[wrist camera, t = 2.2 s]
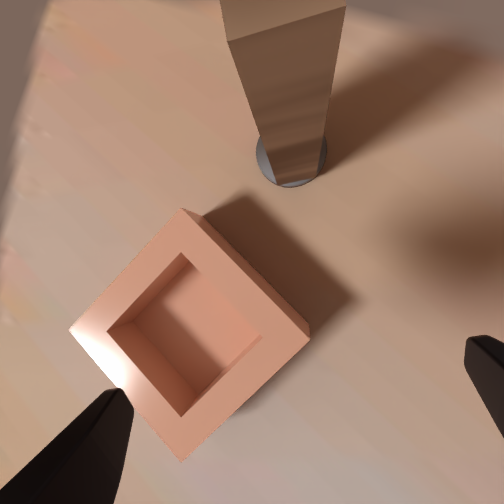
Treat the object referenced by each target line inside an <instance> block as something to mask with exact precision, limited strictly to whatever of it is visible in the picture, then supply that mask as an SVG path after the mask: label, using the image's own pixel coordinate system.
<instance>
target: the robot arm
mask: <svg viewBox="0 0 504 504" xmlns="http://www.w3.org/2000/svg"><path fill="white" fill-rule="evenodd" d="M464 365H465V369H466V371H467V373H468V375H469V377H470V378H471V380H472V382H473V384H474V386H475V388H476V389H477V391H478V393H479V395H480V397H481V398H482V400H483V402H484V404H485V406H486V408H487V409H488V411H489V413H490V415H491V417H492V418H493V420H494V422H495V424H496V426H497V427H498V429H499V431H500V433H501V434H502V436H503V438H504V343H503V342H501V341H499V340H497V339H495V338H493V337H491V336H488V335H479V336H472V337H469V338H468V339H467V340H466V347H465V356H464ZM133 417H134V408H133V405H132V404H131V402H130V400H129V399H128V397H127V395H126V394H125V392H124V391H123V389H121V388H114V389H108V390H105V391H104V392H103V393H102V394H101V395H100V396H99V397H98V398H96V399H95V400H94V401H93V402H92V403H91V404H90V405H89V406H88V407H87V408H86V409H85V410H84V411H83V412H82V413H81V414H80V415H79V416H78V417H76V418H75V419H74V420H73V421H72V422H71V423H70V424H69V425H68V426H67V427H66V428H65V429H64V430H63V431H62V432H61V433H60V434H59V435H57V436H56V437H55V438H54V439H53V440H52V441H51V442H50V443H49V444H48V445H47V446H46V447H45V448H44V449H43V450H42V451H41V452H40V453H39V454H37V455H36V456H35V457H34V458H33V459H32V460H31V461H30V462H29V463H28V464H27V465H26V466H25V467H24V468H23V469H22V470H21V471H20V472H18V473H17V474H16V475H15V476H14V477H13V478H12V479H11V480H10V481H9V482H8V483H7V484H6V485H5V486H4V487H3V488H2V489H1V490H0V504H114V500H115V497H116V494H117V490H118V487H119V483H120V479H121V475H122V471H123V467H124V462H125V457H126V452H127V447H128V442H129V437H130V432H131V427H132V422H133Z"/></svg>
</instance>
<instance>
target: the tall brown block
mask: <svg viewBox="0 0 504 504" xmlns="http://www.w3.org/2000/svg"><path fill="white" fill-rule="evenodd" d="M220 4H221V10H222V15H223V21H224V26H225V32H226V37H227V42H228V45H229V48H230V51H231V54H232V57H233V59H234V62H235V65H236V68H237V71H238V74H239V77H240V80H241V82H242V85H243V88H244V91H245V94H246V97H247V100H248V102H249V105H250V108H251V111H252V114H253V117H254V120H255V122H256V125H257V128H258V131H259V134H260V137H259V140H258V143H257V147H256V158H257V162H258V165H259V167H260V169H261V171H262V173H263V174H264V176H265V177H266V178H267V179H268V180H269V181H271V182H272V183H274V184H276V185H278V186H282V187H288V188H292V187H298V186H302V185H304V184H306V183H308V182H310V181H311V180H312V179H314V178H315V177H316V176H317V175H318V173H319V172H320V170H321V169H322V167H323V164H324V161H325V158H326V152H327V145H326V140H325V137H324V128H325V123H326V117H327V111H328V106H329V100H330V94H331V89H332V83H333V77H334V72H335V66H336V61H337V55H338V49H339V44H340V38H341V32H342V27H343V21H344V15H345V10H346V2H345V0H220Z"/></svg>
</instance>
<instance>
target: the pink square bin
mask: <svg viewBox="0 0 504 504" xmlns="http://www.w3.org/2000/svg"><path fill="white" fill-rule="evenodd" d="M69 331H70V332H71V334H72V335H73V336H74V337H75V338H76V339H77V341H78V342H79V343H80V344H81V345H82V347H83V348H84V349H85V350H86V351H87V352H88V354H89V355H90V356H91V357H92V358H93V359H94V361H95V362H96V363H97V364H98V365H99V367H100V368H101V369H102V370H103V371H104V372H105V374H106V375H107V376H108V377H109V378H110V379H111V381H112V382H113V383H114V384H115V385H116V387H117V388H121V389H123V391H124V392H125V394H126V395H127V397H128V399H129V400H130V402H131V404H132V405H133V407H134V408H135V409H136V410H137V411H138V412H139V414H140V415H141V416H142V417H143V418H144V419H145V421H146V422H147V423H148V424H149V425H150V427H151V428H152V429H153V430H154V431H155V432H156V434H157V435H158V436H159V437H160V438H161V439H162V441H163V442H164V443H165V444H166V445H167V447H168V448H169V449H170V450H171V451H172V452H173V454H174V455H175V456H176V457H177V458H178V459H179V461H180V462H182V461H183V460H184V459H185V458H186V457H188V456H189V455H190V454H191V453H192V452H193V451H194V450H195V449H196V448H197V447H198V446H199V445H200V444H201V443H202V442H203V441H204V440H205V439H206V438H208V437H209V436H210V435H211V434H212V433H213V432H214V431H215V430H216V429H217V428H218V427H219V426H220V425H221V424H222V423H223V422H224V421H225V420H226V419H228V418H229V417H230V416H231V415H232V414H233V413H234V412H235V411H236V410H237V409H238V408H239V407H240V406H241V405H242V404H243V403H244V402H245V401H246V400H248V399H249V398H250V397H251V396H252V395H253V394H254V393H255V392H256V391H257V390H258V389H259V388H260V387H261V386H262V385H263V384H264V383H265V382H266V381H267V380H269V379H270V378H271V377H272V376H273V375H274V374H275V373H276V372H277V371H278V370H279V369H280V368H281V367H282V366H283V365H284V364H285V363H286V362H287V361H289V360H290V359H291V358H292V357H293V356H294V355H295V354H296V353H297V352H298V351H299V350H300V349H301V348H302V347H303V346H304V345H305V344H306V343H307V342H309V341H310V331H309V324H308V323H307V322H306V321H305V320H304V319H303V318H302V317H301V316H300V315H299V314H298V313H297V312H296V311H295V310H294V309H293V308H292V307H291V306H290V305H289V304H288V303H287V302H286V301H285V300H284V299H283V298H282V297H281V296H280V295H279V293H278V292H277V291H276V290H275V289H274V288H273V287H272V286H271V285H270V284H269V283H268V282H267V281H266V280H265V279H264V278H263V277H262V276H261V275H260V274H259V273H258V272H257V271H256V270H255V269H254V268H253V267H252V266H251V265H250V264H249V263H248V262H247V261H246V260H245V259H244V258H243V257H242V256H241V255H240V254H239V253H238V252H237V251H236V250H235V249H234V248H233V247H232V246H231V245H230V244H229V243H228V242H227V241H226V240H225V239H224V238H223V237H222V236H221V235H220V234H219V233H218V232H217V231H216V230H215V229H214V228H213V227H212V226H211V225H210V224H209V223H208V222H207V221H206V220H205V219H204V218H203V217H202V216H201V215H198V214H196V213H193V212H191V211H188V210H186V209H183V208H180V209H179V210H178V211H177V212H176V214H175V215H174V216H173V217H172V218H171V219H170V220H169V221H168V222H167V223H166V224H165V225H164V227H163V228H162V229H161V230H160V231H159V232H158V233H157V234H156V235H155V236H154V237H153V239H152V240H151V241H150V242H149V243H148V244H147V245H146V246H145V247H144V248H143V249H142V250H141V252H140V253H139V254H138V255H137V256H136V257H135V258H134V259H133V260H132V261H131V262H130V263H129V265H128V266H127V267H126V268H125V269H124V270H123V271H122V272H121V273H120V274H119V275H118V276H117V278H116V279H115V280H114V281H113V282H112V283H111V284H110V285H109V286H108V287H107V288H106V290H105V291H104V292H103V293H102V294H101V295H100V296H99V297H98V298H97V299H96V300H95V301H94V303H93V304H92V305H91V306H90V307H89V308H88V309H87V310H86V311H85V312H84V313H83V314H82V316H81V317H80V318H79V319H78V320H77V321H76V322H75V323H74V324H73V325H72V326H71V327H70V329H69Z"/></svg>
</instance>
